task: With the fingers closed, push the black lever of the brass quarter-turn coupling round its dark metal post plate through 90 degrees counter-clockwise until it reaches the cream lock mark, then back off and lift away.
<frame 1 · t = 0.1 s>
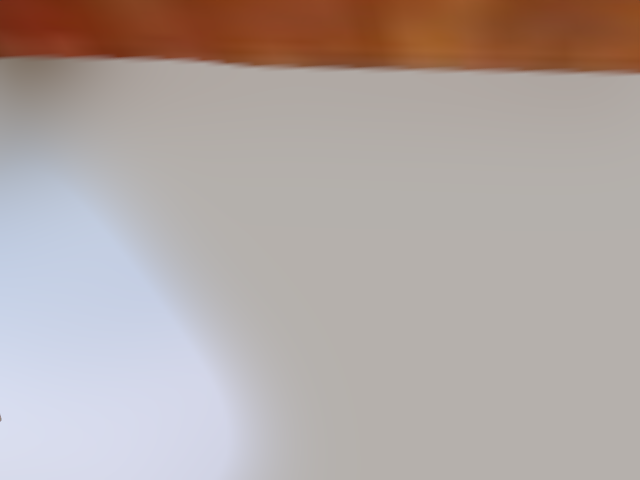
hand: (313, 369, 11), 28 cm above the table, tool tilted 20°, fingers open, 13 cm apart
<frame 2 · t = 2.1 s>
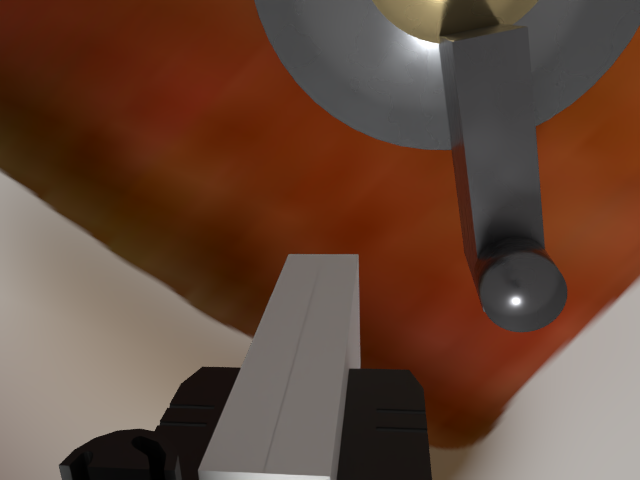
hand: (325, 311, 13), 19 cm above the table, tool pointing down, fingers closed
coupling: (484, 68, 22), point 7 cm above the table, hinge at 0.0°
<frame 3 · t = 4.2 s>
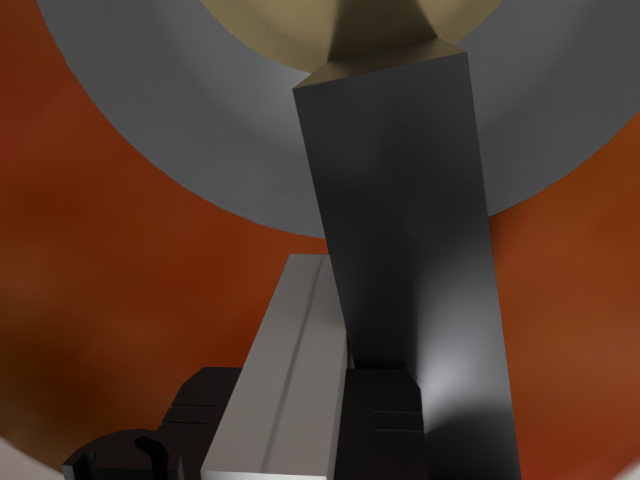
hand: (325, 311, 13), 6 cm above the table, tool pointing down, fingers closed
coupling: (392, 133, 10), point 7 cm above the table, hinge at 0.5°, touching gripper
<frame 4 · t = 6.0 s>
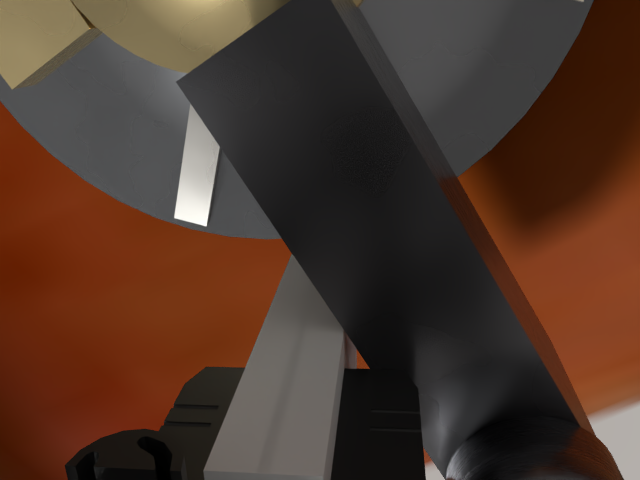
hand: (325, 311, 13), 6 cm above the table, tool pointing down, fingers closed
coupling: (313, 95, 10), point 7 cm above the table, hinge at 45.5°, touching gripper
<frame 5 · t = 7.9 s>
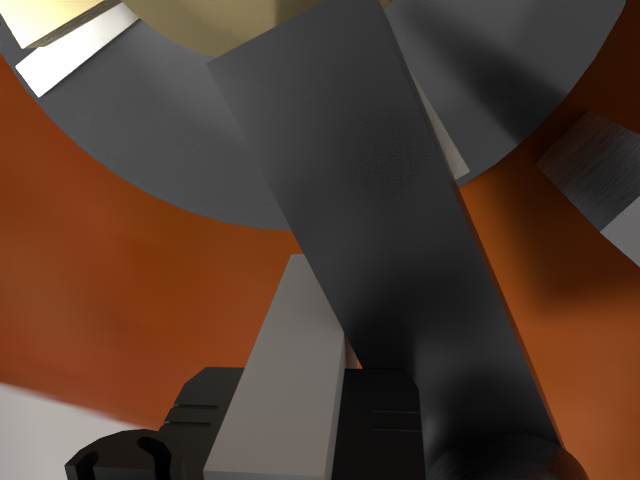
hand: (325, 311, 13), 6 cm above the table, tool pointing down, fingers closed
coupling: (336, 92, 10), point 7 cm above the table, hinge at 82.6°, touching gripper
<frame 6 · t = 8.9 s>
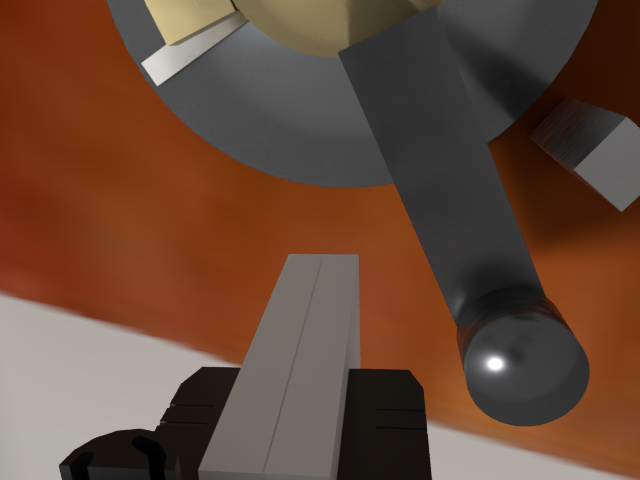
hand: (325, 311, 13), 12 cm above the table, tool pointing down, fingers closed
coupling: (403, 74, 16), point 7 cm above the table, hinge at 82.0°
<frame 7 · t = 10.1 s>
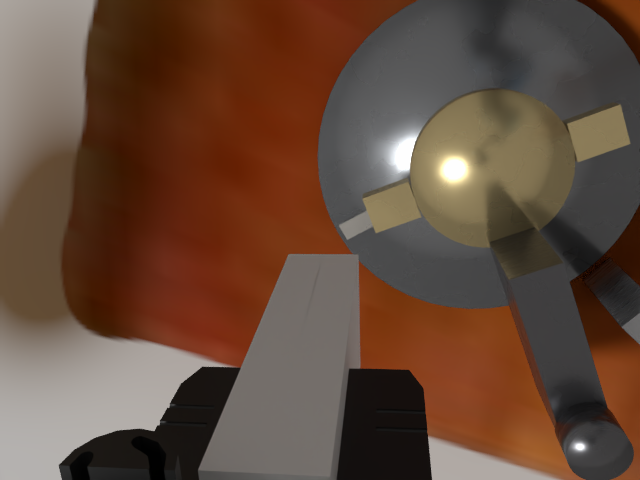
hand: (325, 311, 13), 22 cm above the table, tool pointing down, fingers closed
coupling: (532, 278, 28), point 7 cm above the table, hinge at 82.0°
post plate: (477, 155, 34), on the table
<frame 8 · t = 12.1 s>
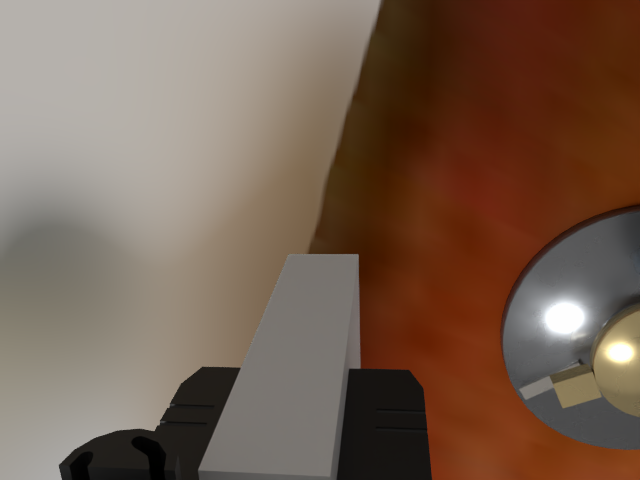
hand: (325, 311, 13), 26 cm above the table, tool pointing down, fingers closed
post plate: (635, 330, 41), on the table
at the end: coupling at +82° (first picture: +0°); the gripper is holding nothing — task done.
